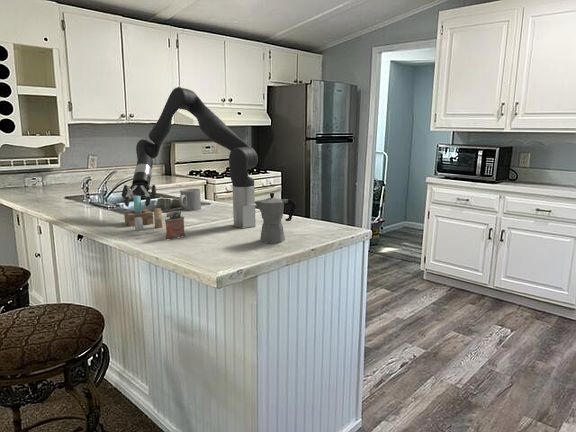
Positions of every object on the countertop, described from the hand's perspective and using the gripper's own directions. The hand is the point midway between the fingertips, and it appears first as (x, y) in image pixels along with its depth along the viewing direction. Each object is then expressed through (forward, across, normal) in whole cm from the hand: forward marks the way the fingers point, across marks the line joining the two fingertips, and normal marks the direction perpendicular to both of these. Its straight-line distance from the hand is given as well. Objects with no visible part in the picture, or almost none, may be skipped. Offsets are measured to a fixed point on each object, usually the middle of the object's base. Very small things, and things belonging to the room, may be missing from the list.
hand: (136, 205), depth 188 cm
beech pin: (+11, +11, 0) cm, 15 cm away
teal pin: (+5, 0, +7) cm, 8 cm away
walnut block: (+5, 0, +7) cm, 8 cm away
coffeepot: (+28, +60, -16) cm, 68 cm away
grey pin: (+14, +4, -2) cm, 15 cm away
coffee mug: (-16, +16, +28) cm, 36 cm away
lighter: (+23, +22, -11) cm, 34 cm away
